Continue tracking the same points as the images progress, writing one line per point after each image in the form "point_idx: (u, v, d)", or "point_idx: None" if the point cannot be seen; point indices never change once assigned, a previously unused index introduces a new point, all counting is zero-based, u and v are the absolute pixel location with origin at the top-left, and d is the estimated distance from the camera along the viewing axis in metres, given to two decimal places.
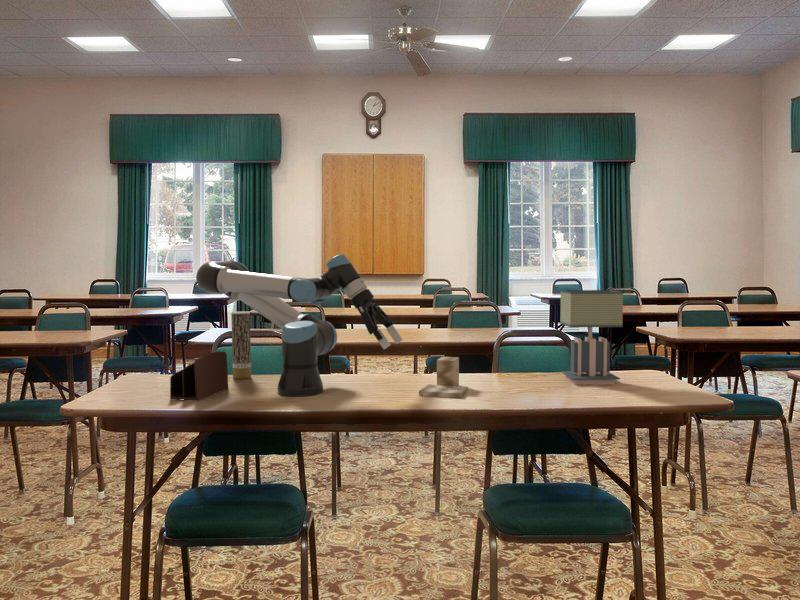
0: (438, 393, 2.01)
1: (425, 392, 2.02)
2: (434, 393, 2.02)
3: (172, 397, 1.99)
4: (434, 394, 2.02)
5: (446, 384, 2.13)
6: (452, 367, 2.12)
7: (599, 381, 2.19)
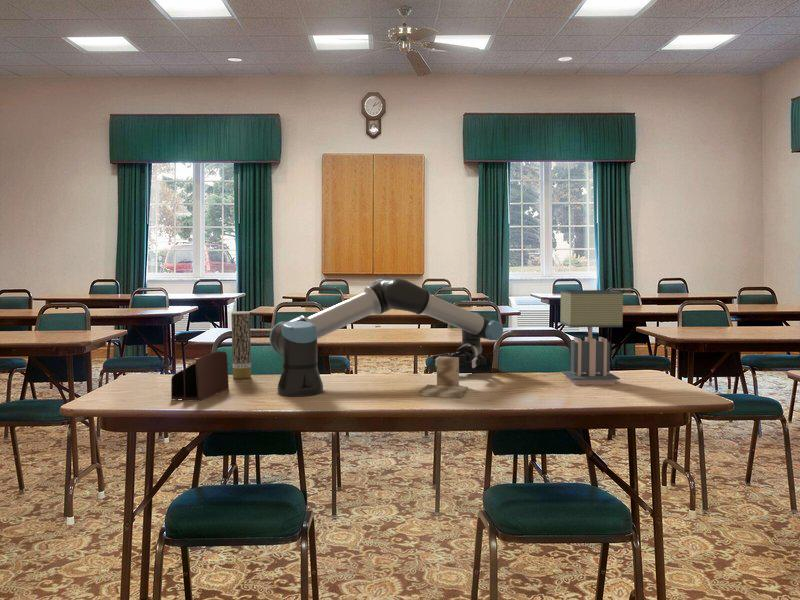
0: (438, 393, 2.01)
1: (425, 392, 2.02)
2: (434, 393, 2.02)
3: (173, 397, 1.99)
4: (434, 394, 2.02)
5: (446, 384, 2.13)
6: (452, 367, 2.12)
7: (599, 381, 2.19)
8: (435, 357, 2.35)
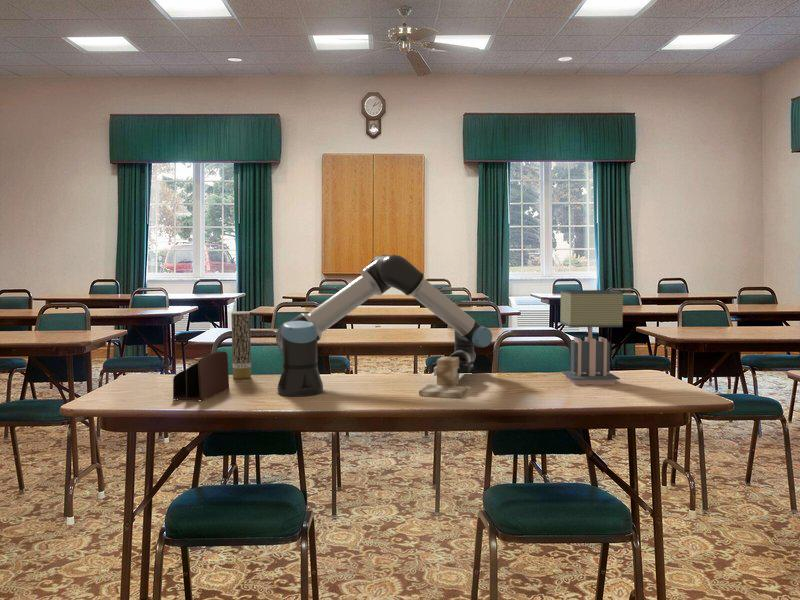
0: (438, 393, 2.01)
1: (425, 392, 2.02)
2: (434, 393, 2.02)
3: (175, 397, 1.98)
4: (434, 394, 2.02)
5: (446, 384, 2.13)
6: (452, 367, 2.12)
7: (599, 381, 2.19)
8: (434, 365, 2.20)
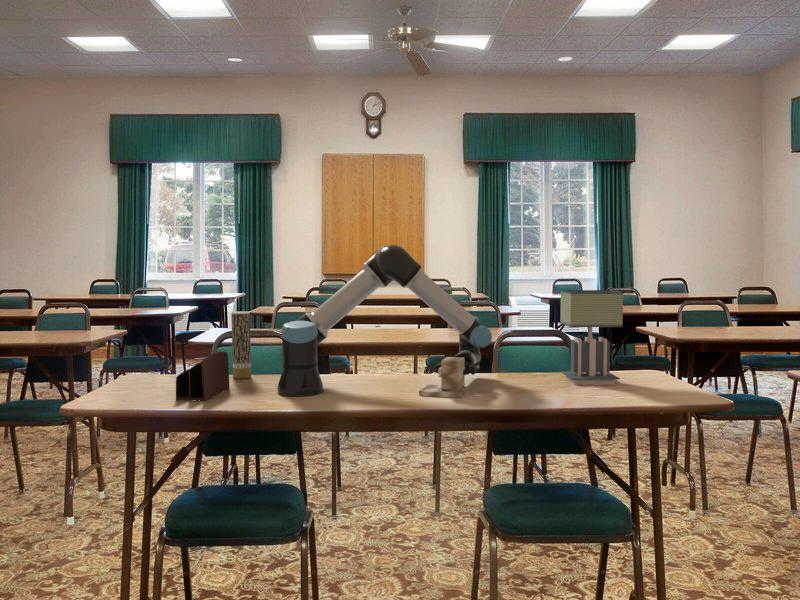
0: (438, 393, 2.01)
1: (425, 392, 2.02)
2: (434, 393, 2.02)
3: (178, 398, 1.98)
4: (434, 394, 2.02)
5: (451, 386, 2.01)
6: (458, 368, 2.00)
7: (599, 381, 2.19)
8: (439, 367, 2.09)
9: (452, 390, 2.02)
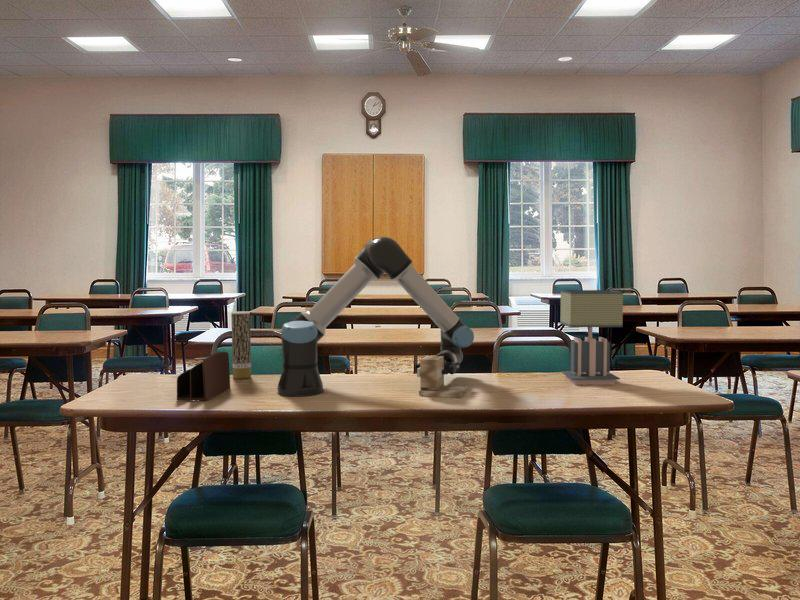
0: (438, 393, 2.01)
1: (425, 392, 2.02)
2: (434, 393, 2.02)
3: (179, 398, 1.98)
4: (434, 394, 2.02)
5: (430, 384, 2.03)
6: (436, 366, 2.02)
7: (599, 381, 2.19)
8: (418, 366, 2.11)
9: (431, 388, 2.03)
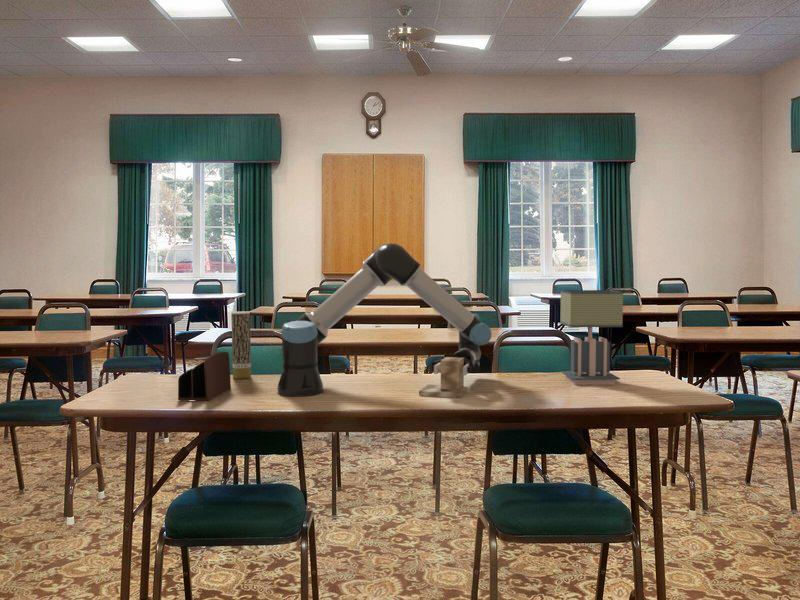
0: (438, 393, 2.01)
1: (425, 392, 2.02)
2: (434, 393, 2.02)
3: (180, 398, 1.97)
4: (434, 394, 2.02)
5: (450, 386, 2.01)
6: (457, 368, 2.00)
7: (599, 381, 2.19)
8: (434, 363, 2.10)
9: (451, 390, 2.01)
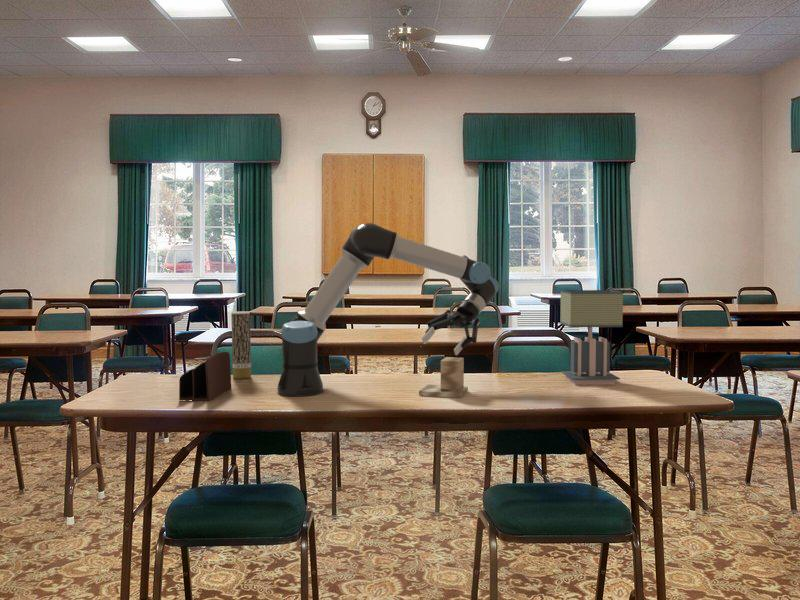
0: (438, 393, 2.01)
1: (425, 392, 2.02)
2: (434, 393, 2.02)
3: (181, 398, 1.97)
4: (434, 394, 2.02)
5: (450, 386, 2.01)
6: (457, 368, 2.00)
7: (599, 381, 2.19)
8: (429, 324, 2.24)
9: (451, 390, 2.01)
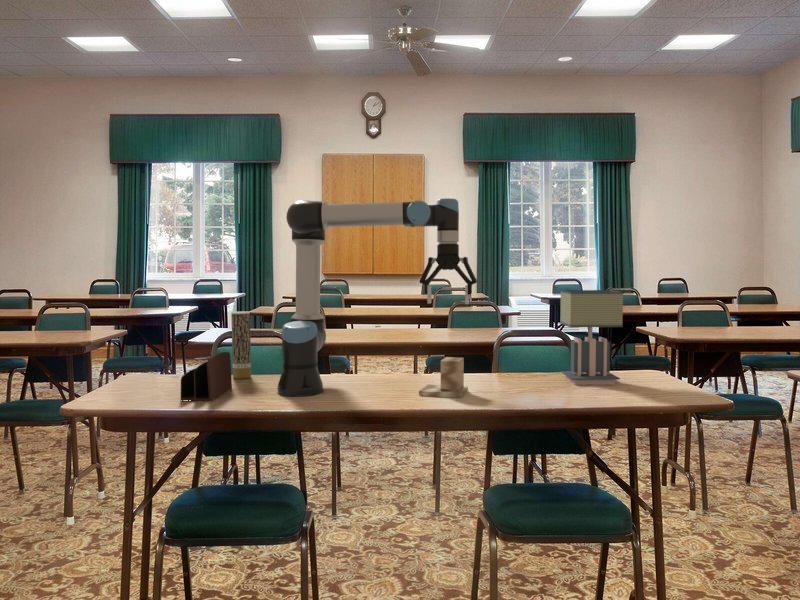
0: (438, 393, 2.01)
1: (425, 392, 2.02)
2: (434, 393, 2.02)
3: (183, 398, 1.97)
4: (434, 394, 2.02)
5: (450, 386, 2.01)
6: (457, 368, 2.00)
7: (599, 381, 2.19)
8: (422, 283, 2.21)
9: (451, 390, 2.01)
